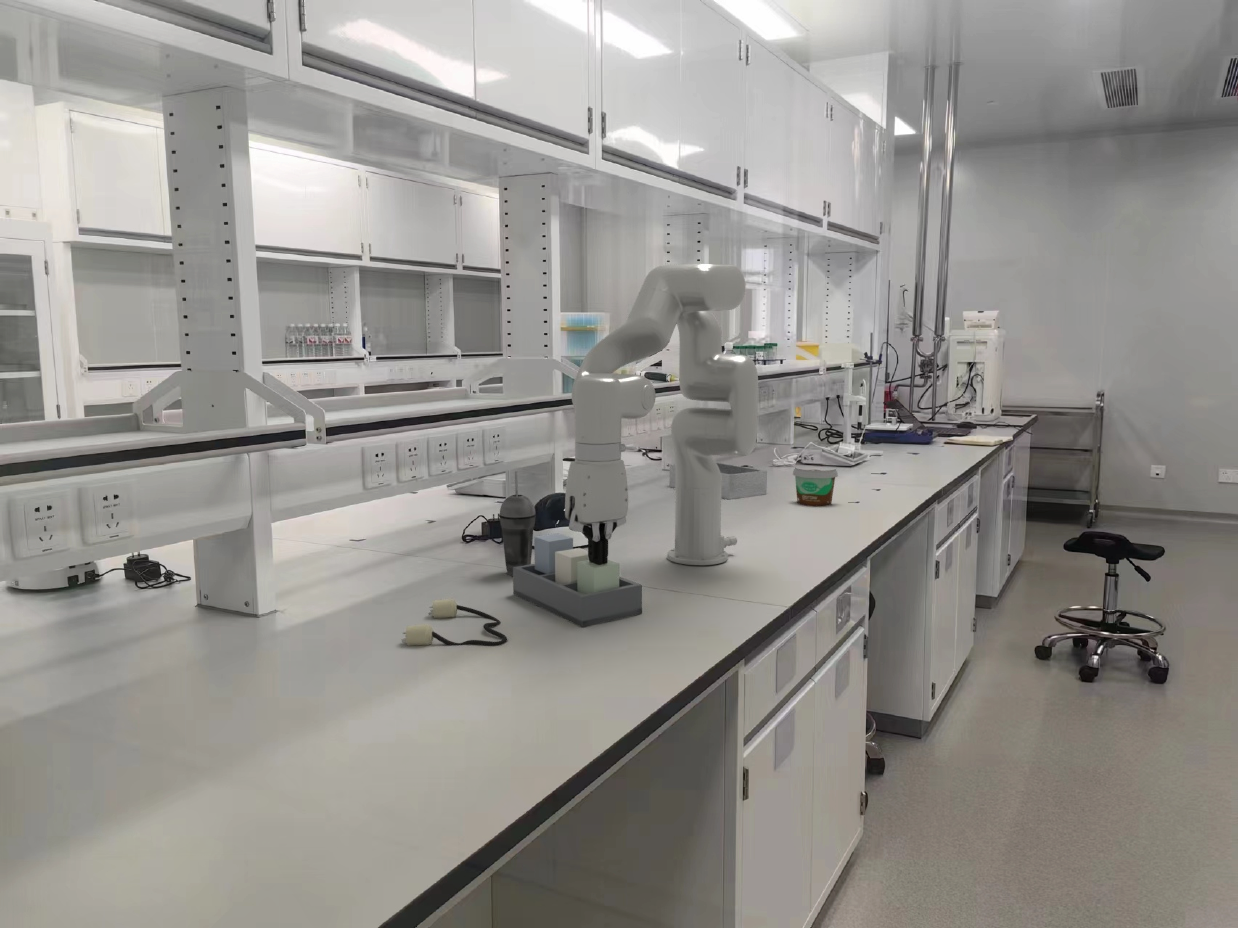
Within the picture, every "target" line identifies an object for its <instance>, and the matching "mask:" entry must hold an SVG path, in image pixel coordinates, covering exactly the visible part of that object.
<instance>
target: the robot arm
mask: <svg viewBox="0 0 1238 928" xmlns="http://www.w3.org/2000/svg"><path fill="white" fill-rule="evenodd" d="M745 295H746V280H745V276H744V274H743V272H742V270H741V269H740V268H739V267H738V266H736V265H734V264H714V263H713V264H712V263H685V264H684V263H683V264H665V265H663V264H662V265H660V266H657V267H654V268H653V269H651V270H650V271H649V272H648V274H647V275H646V276H645V279H644V281H643V282H642V285H641V287H640V290H639V292H638V294H637V296H636V298H635V301H634V303H633V305H632V307H631V310H630V312H629V315H628V316H627V318H626V320H625V322H624V324H621V326H619V327H617V328H615V329H614V330H612V331H611V332H610V333H609V334H607V335H606V336H605V337H604V338H603V339H601V340H600V341H598V342H597V343H596V344H595V345H594V346H593V347H591V348H590V349H589V351H588V352H587V354H586V355H585V356H584V358H583V360H582V363H581V364H580V367H579V369H578V371H577V373H576V375H575V378H574V380H573V381H574V382H573V384H572V389H571V403H572V405H573V407H574V460H573V461H570V463H569V467H568V473H567V476H566V485H565V495H564V496H565V498H564V501H565V502H564V516H565V519H567V520H568V521H569V523H568V530H570V531H572V532H578V533H582V535H584V537H585V539H587V551H588V557H589V561H590V562H592V563H595V564H597V565H601V564H602V563H603V564H606V563H607V562H608V560H609V559H608V558H609V557H608V556H609V540H611V538H612V535H613V532H614V531H615V530H616V529H617V528H618V527H621V526H623V525H625V524H626V523H627V519H626V518H627V515H628V513H629V488H628V478H627V472H626V466H625V462H624V460H623V459H622V453H623V452H625V451H626V449H627V447H626V444H625V443H622V419H623V420H636V419H637V420H638V419H641V418H644V417H646V416H647V415H649V413H650V412H651V411H652V410H653V408H654V406H655V403H656V395H657V394H656V390H655V387H654V384H653V383H652V382H651V381H650V379H648V378H647V377H645V376H643V375H640V374H631V373H629V374H628V373H614V372H616V371H617V370H619V369H620V368H622V367H624V366H626V365H629V364H631V363H634V362H637V361H639V360H643V359H645V358H648V357H650V356H652V355H655V354H657V353H660V352H661V351H663V350H664V349H666V347H668V345H669V343H670V341H671V339H672V336H673V333H674V331H675V328H676V326H677V329H678V334H679V335H678V338H679V353H678V355H679V356H678V357H679V362H678V365H679V366H678V367H679V368H678V373H679V375H678V377H679V378H678V379H679V389H680V392H681V394H682V396H683V397H684V398H686V400H687V399H688V400H691V401H697V402H698V401H700V402H721V403H729V406H730V408H716V407H699V406H698V407H696V406H695V407H687V408H683V409H681V410H680V411H678V412H677V413H675V415H674V416H673V419H672V422H671V426H670V427H671V429H670V430H671V433H670V434H671V440H672V446H673V452H674V461H675V463H674V464H675V466H676V485H675V488H674V490H675V494H674V496H675V497H674V499H675V500H674V503H675V504H674V505H675V507H674V508H675V510H674V514H675V515H674V548H671V549H669V550H668V551H667V553H666V556H667V559H668V560H669V561H671V562H673V563H676V564H679V565H686V566H712V565H713V566H714V565H718V564H723V563H725V562H726V561H728V558H729V557H728V556H729V554H728V552H726V551H725V549H726V547H731V546H735V545H737V543H738V538H737V537H736V536H735V535H731V536H726V537H725V536H724V535H721V533H722V531H721V530H722V498H721V487H722V477H721V472H720V470H719V467H718V466H717V464H716V462H717V461H716V460H715V459H714V458H713V456H722V457H724V456H725V457H746V456H749V455H750V454H751V453H752V452H753V451H754V449H755V447H756V444H757V438H758V436H757V435H758V419H759V418H758V414H759V413H758V412H759V411H758V410H759V409H758V407H759V377H758V376H759V375H758V369H757V367H756V364H755V362H754V361H753V359H752V358H751V357H750V356H747V355H745V354H736V353H735V354H732V353H731V354H730V353H729V354H727V353H725V354H724V353H723V349H722V337H723V336H722V328H721V324H720V323H719V321H718V319H717V318H716V316H715V315H714V313H713V312H723V311H732V310H734V309H737V308H738V307H739V306H740V305H741V303H742V301H744V297H745Z"/></svg>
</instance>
